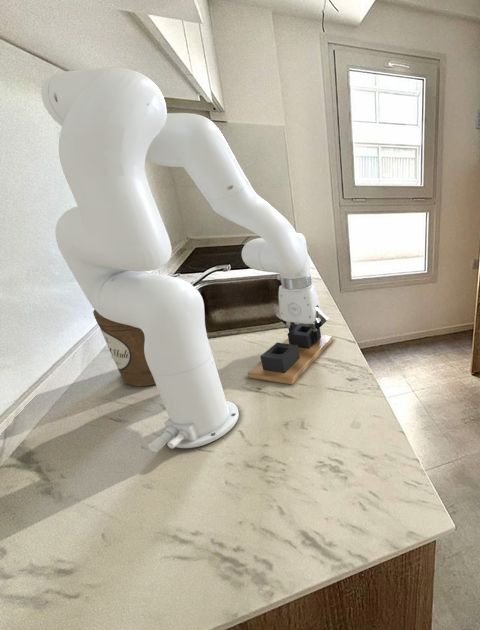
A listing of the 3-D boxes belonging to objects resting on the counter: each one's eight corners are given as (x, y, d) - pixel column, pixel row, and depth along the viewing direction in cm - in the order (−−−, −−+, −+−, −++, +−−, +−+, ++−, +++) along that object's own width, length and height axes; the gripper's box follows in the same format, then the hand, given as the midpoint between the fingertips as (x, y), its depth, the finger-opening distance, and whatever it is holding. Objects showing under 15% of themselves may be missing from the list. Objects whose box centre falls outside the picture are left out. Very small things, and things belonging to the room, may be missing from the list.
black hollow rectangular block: (284, 373, 81) (282, 359, 79) (263, 369, 82) (260, 356, 80) (299, 358, 87) (297, 345, 86) (279, 355, 88) (277, 342, 87)
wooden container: (124, 365, 86) (88, 285, 76) (191, 347, 94) (167, 273, 84) (121, 395, 75) (80, 306, 65) (198, 372, 83) (171, 291, 74)
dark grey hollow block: (309, 348, 92) (307, 336, 90) (289, 346, 93) (287, 333, 91) (321, 336, 98) (319, 324, 96) (302, 334, 99) (300, 322, 97)
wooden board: (292, 384, 80) (289, 370, 78) (248, 377, 82) (245, 364, 80) (332, 340, 99) (331, 328, 97) (296, 335, 101) (294, 324, 99)
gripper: (258, 283, 85) (270, 343, 93) (319, 289, 82) (327, 350, 90) (275, 274, 92) (285, 330, 100) (333, 279, 89) (339, 337, 97)
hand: (305, 339), depth 95 cm, fingers closed on dark grey hollow block, 6 cm apart
